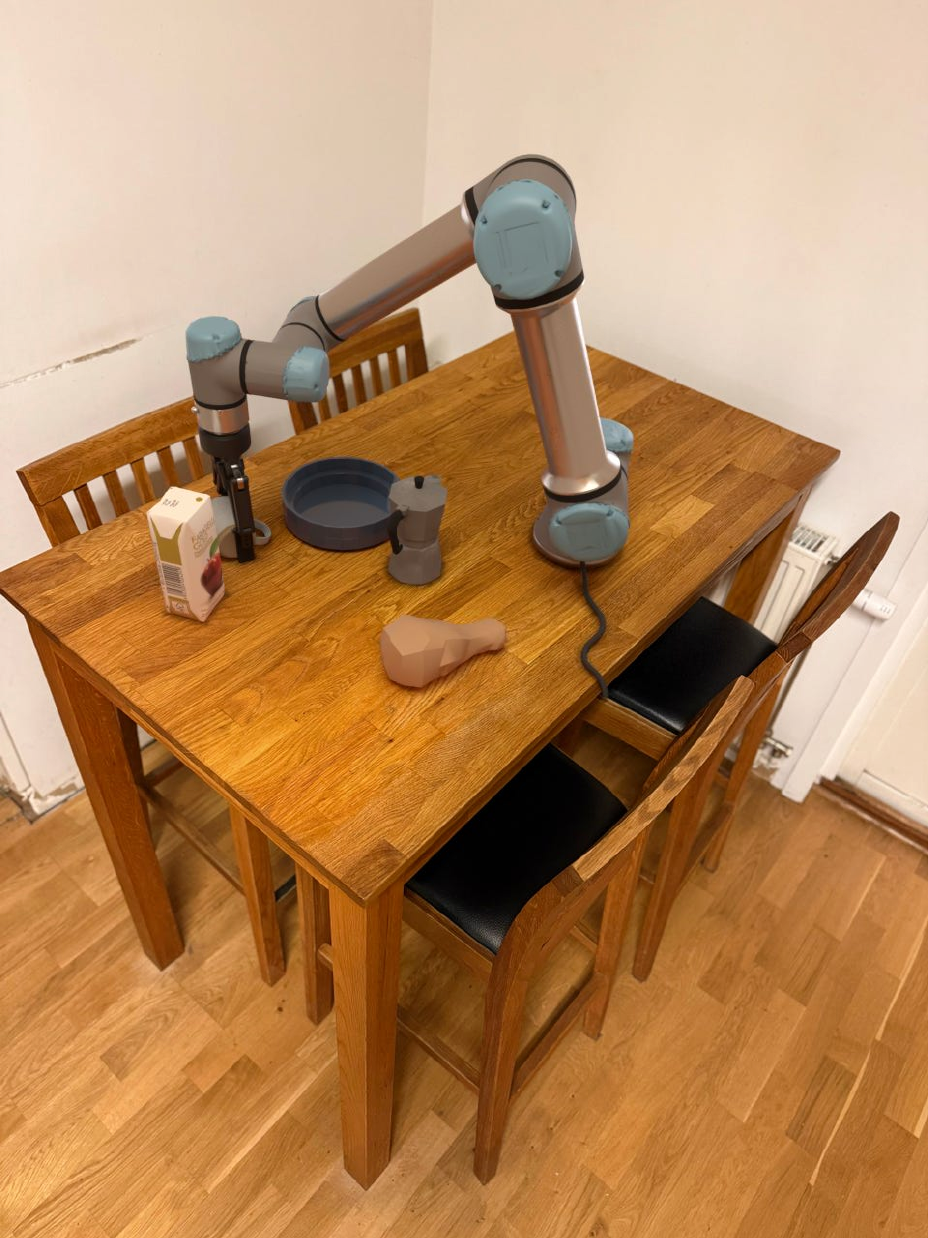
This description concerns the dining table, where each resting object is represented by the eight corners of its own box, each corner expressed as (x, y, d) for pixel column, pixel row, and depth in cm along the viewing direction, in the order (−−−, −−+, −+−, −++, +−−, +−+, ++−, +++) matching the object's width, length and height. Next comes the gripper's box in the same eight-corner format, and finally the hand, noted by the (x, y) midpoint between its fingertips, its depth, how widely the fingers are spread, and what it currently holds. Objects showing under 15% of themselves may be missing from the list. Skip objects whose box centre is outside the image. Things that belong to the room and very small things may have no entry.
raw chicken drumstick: (363, 662, 130) (365, 610, 126) (476, 634, 140) (483, 585, 136) (397, 703, 123) (401, 648, 118) (515, 670, 133) (523, 619, 128)
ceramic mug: (218, 566, 143) (213, 528, 138) (200, 538, 148) (195, 500, 143) (279, 549, 148) (277, 511, 142) (260, 522, 152) (257, 485, 147)
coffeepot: (409, 537, 152) (413, 447, 140) (458, 556, 150) (466, 466, 137) (362, 588, 142) (361, 495, 130) (413, 608, 139) (418, 516, 127)
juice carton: (159, 615, 134) (137, 514, 121) (188, 580, 140) (169, 480, 127) (205, 627, 133) (188, 526, 120) (231, 592, 139) (217, 492, 126)
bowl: (422, 537, 153) (423, 511, 149) (306, 565, 145) (305, 539, 141) (376, 472, 166) (377, 447, 162) (268, 495, 158) (266, 469, 154)
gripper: (181, 393, 137) (199, 512, 153) (217, 465, 124) (234, 587, 139) (229, 385, 140) (242, 503, 155) (269, 455, 127) (280, 576, 142)
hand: (238, 542), depth 147 cm, fingers closed on ceramic mug, 8 cm apart
